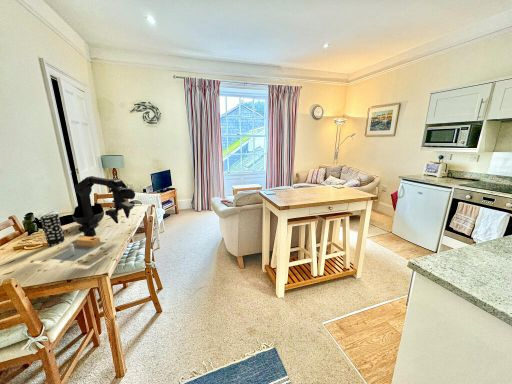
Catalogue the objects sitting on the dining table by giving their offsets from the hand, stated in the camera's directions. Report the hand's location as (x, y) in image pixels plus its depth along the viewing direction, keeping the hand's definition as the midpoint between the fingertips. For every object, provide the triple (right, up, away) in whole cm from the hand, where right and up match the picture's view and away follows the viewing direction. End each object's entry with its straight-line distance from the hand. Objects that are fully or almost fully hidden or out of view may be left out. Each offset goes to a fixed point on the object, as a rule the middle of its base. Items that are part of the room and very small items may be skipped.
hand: (122, 220), depth 140 cm
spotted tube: (-42, -16, -2) cm, 45 cm away
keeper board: (-19, -18, -11) cm, 28 cm away
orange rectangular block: (-19, -15, -5) cm, 24 cm away
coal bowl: (-44, -8, +29) cm, 53 cm away
